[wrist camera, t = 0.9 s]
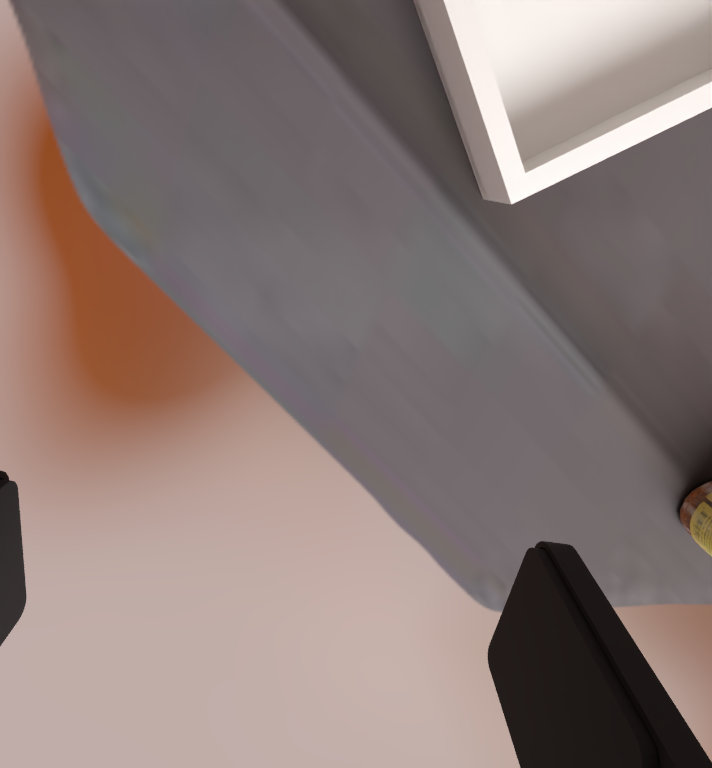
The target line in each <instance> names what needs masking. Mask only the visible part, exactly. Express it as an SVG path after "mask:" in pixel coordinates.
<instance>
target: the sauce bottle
mask: <svg viewBox="0 0 712 768" xmlns="http://www.w3.org/2000/svg"><path fill="white" fill-rule="evenodd" d="M680 520H681V522H682V525H683V527H684V528H685V530H686V531H687V532H688V533H689V534H690V535H691V536H692V537H693V539H694V540H695V541H696V542H697V543H698V544H699V545H700V546H701V547H702V548H703V549H704V550H705V551H706V552H707V553H708V554H709V555H710V556H711V557H712V481H710V482H707V483H705V484H703V485H702V486H699V487H697V488H696V489H694V490H693V491H692V492H690V494H689V495H688V496H687V497H686V498H685V500H684V502H683V505H682V506H681V508H680Z"/></svg>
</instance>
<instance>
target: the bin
mask: <svg viewBox="0 0 712 768" xmlns="http://www.w3.org/2000/svg"><path fill="white" fill-rule="evenodd" d="M413 2H414V5H415V8H416V10H417V13H418V16H419V19H420V22H421V25H422V27H423V30H424V33H425V36H426V39H427V42H428V44H429V47H430V50H431V53H432V56H433V59H434V61H435V64H436V67H437V70H438V73H439V76H440V78H441V81H442V84H443V87H444V90H445V93H446V95H447V98H448V101H449V104H450V107H451V110H452V112H453V115H454V118H455V121H456V124H457V127H458V129H459V132H460V135H461V138H462V141H463V144H464V146H465V149H466V152H467V155H468V158H469V161H470V163H471V166H472V169H473V172H474V175H475V178H476V180H477V183H478V186H479V189H480V192H481V195H482V197H483V199H485V200H490V201H496V202H501V203H507V204H513V203H515V202H517V201H520V200H522V199H524V198H526V197H528V196H530V195H532V194H534V193H536V192H538V191H540V190H542V189H544V188H546V187H548V186H550V185H553V184H555V183H557V182H559V181H561V180H563V179H565V178H567V177H569V176H571V175H573V174H575V173H577V172H579V171H581V170H584V169H586V168H588V167H590V166H592V165H594V164H596V163H598V162H600V161H602V160H604V159H606V158H608V157H610V156H612V155H615V154H617V153H619V152H621V151H623V150H625V149H627V148H629V147H631V146H633V145H635V144H637V143H639V142H641V141H643V140H645V139H648V138H650V137H652V136H654V135H656V134H658V133H660V132H662V131H664V130H666V129H668V128H670V127H672V126H674V125H676V124H679V123H681V122H683V121H685V120H687V119H689V118H691V117H693V116H695V115H697V114H699V113H701V112H703V111H705V110H707V109H709V108H712V0H413Z"/></svg>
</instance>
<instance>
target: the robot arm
mask: <svg viewBox="0 0 712 768" xmlns="http://www.w3.org/2000/svg"><path fill="white" fill-rule="evenodd" d="M25 603H26V586H25V573H24V561H23V549H22V536H21V523H20V511H19V498H18V487H17V484H16V483H15V482H14V481H9V477H8V475H7V474H6V472H3V471H0V646H1V644H2V643H3V641H4V640H5V639H6V637H7V636H8V634H9V633H10V632H11V630H12V629H13V627H14V626H15V624H16V623H17V622H18V620H19V618H20V617H21V615H22V613H23V610H24V607H25ZM488 664H489V668H490V671H491V675H492V678H493V681H494V684H495V687H496V691H497V694H498V697H499V700H500V703H501V707H502V710H503V713H504V716H505V719H506V723H507V726H508V729H509V732H510V735H511V739H512V742H513V745H514V748H515V751H516V755H517V758H518V760H519V764H520V767H521V768H712V762H711V761H710V759H709V758H708V756H707V755H706V753H705V751H704V750H703V748H702V747H701V745H700V743H699V742H698V740H697V739H696V737H695V736H694V734H693V733H692V731H691V729H690V728H689V726H688V725H687V723H686V722H685V720H684V718H683V717H682V715H681V714H680V712H679V711H678V709H677V708H676V706H675V704H674V703H673V701H672V700H671V698H670V697H669V695H668V694H667V692H666V690H665V689H664V687H663V686H662V684H661V683H660V681H659V680H658V678H657V676H656V675H655V673H654V672H653V670H652V668H651V667H650V666H649V664H648V662H647V661H646V659H645V658H644V656H643V654H642V653H641V651H640V650H639V648H638V647H637V645H636V644H635V642H634V640H633V639H632V637H631V636H630V634H629V633H628V631H627V629H626V628H625V627H624V625H623V623H622V622H621V620H620V618H619V617H618V615H617V614H616V612H615V611H614V609H613V608H612V606H611V604H610V603H609V601H608V600H607V598H606V597H605V595H604V593H603V592H602V590H601V589H600V587H599V586H598V584H597V583H596V581H595V579H594V578H593V576H592V575H591V573H590V572H589V570H588V568H587V567H586V565H585V564H584V562H583V561H582V559H581V558H580V556H579V554H578V553H577V551H576V550H575V549H574V548H573V546H571V545H568V544H560V543H552V542H545V541H541V542H539V543H538V544H536V546H535V548H529V549H528V550H527V552H526V554H525V557H524V559H523V562H522V564H521V567H520V569H519V572H518V574H517V577H516V579H515V582H514V584H513V587H512V589H511V592H510V594H509V597H508V599H507V602H506V604H505V607H504V610H503V612H502V615H501V617H500V620H499V622H498V625H497V627H496V630H495V632H494V635H493V637H492V640H491V642H490V645H489V649H488Z"/></svg>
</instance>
